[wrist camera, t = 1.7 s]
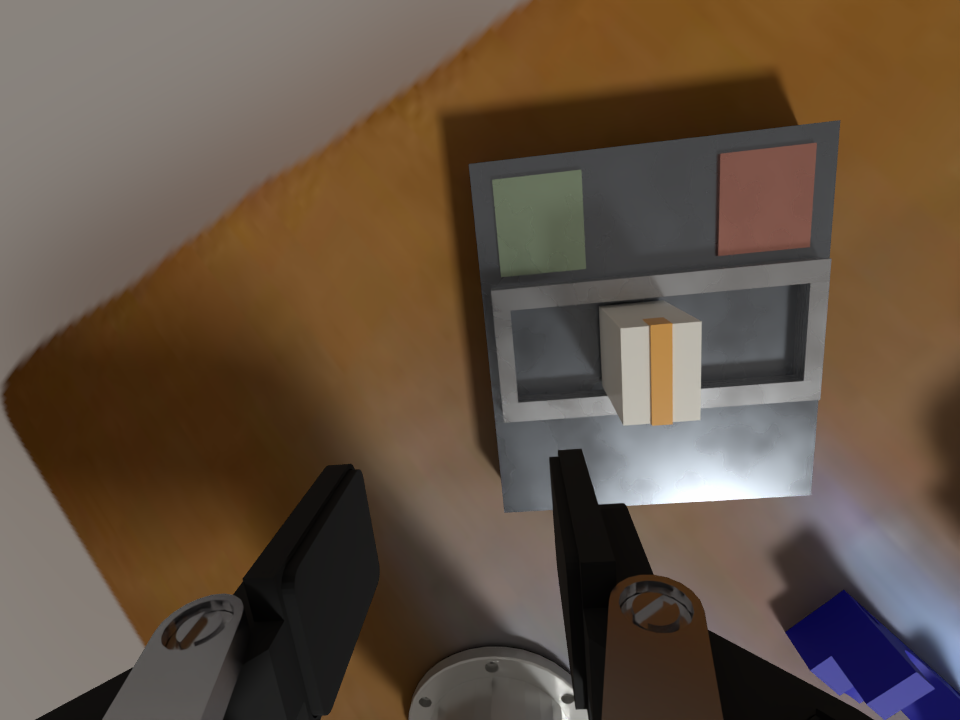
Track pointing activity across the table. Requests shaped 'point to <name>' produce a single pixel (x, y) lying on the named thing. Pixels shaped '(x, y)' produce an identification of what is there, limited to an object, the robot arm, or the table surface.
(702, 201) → the panel
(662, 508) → the table surface
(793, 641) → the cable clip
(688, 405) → the taped parcel
